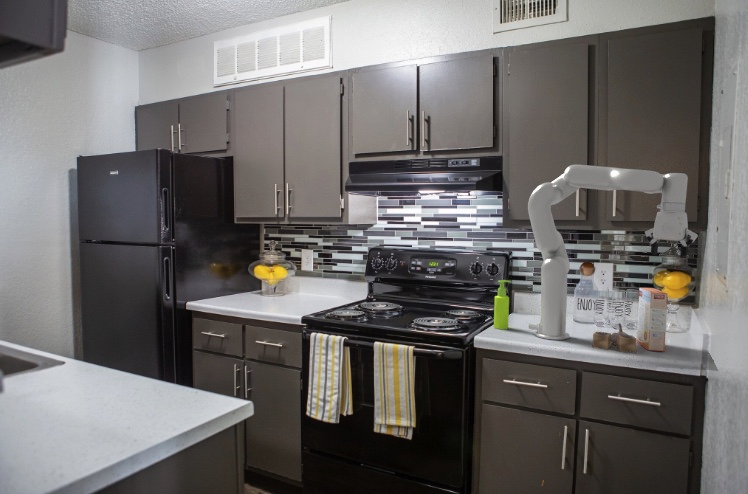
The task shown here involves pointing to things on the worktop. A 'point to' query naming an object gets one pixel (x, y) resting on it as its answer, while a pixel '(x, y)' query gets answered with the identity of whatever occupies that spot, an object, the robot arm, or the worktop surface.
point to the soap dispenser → (501, 307)
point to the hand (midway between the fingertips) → (668, 256)
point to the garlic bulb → (614, 335)
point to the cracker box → (652, 319)
